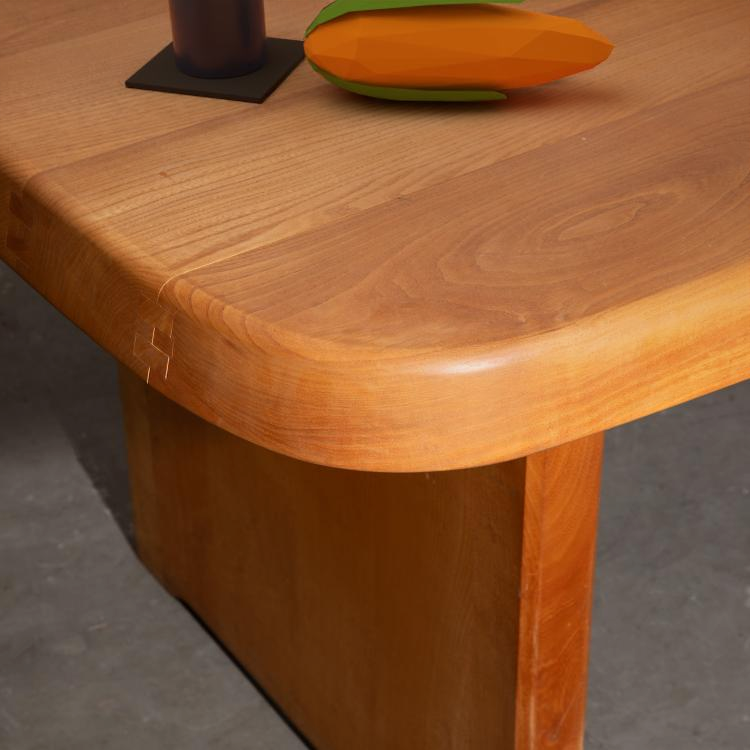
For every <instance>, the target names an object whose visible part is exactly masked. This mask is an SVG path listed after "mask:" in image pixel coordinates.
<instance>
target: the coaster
mask: <svg viewBox="0 0 750 750" xmlns="http://www.w3.org/2000/svg"><path fill="white" fill-rule="evenodd" d="M266 39H267V53H268V59H267V62H266V63H265V65H264V66H262V67H261V68H260V69H258V70H256V71H254V72H252V73H249V74H246V75H242V76H238V77H233V78H224V79H206V78H198V77H193V76H190V75H187V74H185V73H183V72H181V71H180V70H179V69H178V68H177V67H176V64H175V55H174V46H173V40H172V41H171V42H169V44H167V45H166V46H165V47H164V48H163V49H161V50H160V51H158V53H157V54H155V55H154V56H153V57H152V58H151V59H150V60H148V61H147V62H146V63H145V64H144V65H143V66H141V67H140V68H139V69H138V70H136V71H135V72H134V73H133V74H132V75H131V76H130V77H128V78H127V79H125V81H124V87H125V88H132V89H141V90H150V91H157V92H165V93H173V94H181V95H190V96H197V97H205V98H206V97H207V98H215V99H223V100H231V101H238V102H239V101H240V102H247V103H255V104H262V103H263V102H264V101H265V100H266V99H267V98H268V96H270V95H271V93H272V92H274V90H275V89H277V88H278V86H279V85H280V84H281V83H282V82H283V81H284V80H285V79H286V78H287V77H288V76H289V75H290V74H291V73H292V72H293V71H294V70H295V69H296V68H297V67H298V66H299V64H301V62H302V61H303V60H305V59H306V57H305V55H304V54H305V50H304V42H305V40H299V39H291V38H281V37H271V36H266Z"/></svg>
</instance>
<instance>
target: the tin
mask: <svg viewBox="0 0 750 750" xmlns="http://www.w3.org/2000/svg"><path fill="white" fill-rule="evenodd" d="M168 9H169V10H168V11H169V18H170V19H169V20H170V25H171V26H170V28H171V36H172V41H173V46H174V55H175V64H176V67H177V68H178V69H179V70H180V71H181V72H183V73H185V74H187V75H190V76H193V77H198V78H206V79H224V78H233V77H238V76H242V75H246V74H249V73H252V72H254V71H256V70H258V69H260V68H261V67H262V66H264V65H265V63H266V62H267V59H268V53H267V39H266V37H267V28H266V15H265V13H266V12H265V0H168Z"/></svg>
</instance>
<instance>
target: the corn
mask: <svg viewBox="0 0 750 750" xmlns="http://www.w3.org/2000/svg"><path fill="white" fill-rule="evenodd" d="M525 1H526V0H334V1H333V2H331V3H329V4H327V5H326V6H325V7H323V8H322V9H321V10H320V11H319V13H318V14H317V16H315V18H314V19H313V21H311V23H310V24H309V25H308V27H307V28H306V29H305V33H304V35H303V39H304V41H305V42H304V50H305V54H304V55H305V60H306V62H307V63H308V64H309V65H310V67H311V68H312V70H314V72H316V74H318V76H319V77H320V78H323V79H324V80H325V81H327V82H329V83H330V84H332V85H335V86H336V87H338V88H341V89H343V90H345V91H346V92H350V93H353V94H358V95H362V96H366V97H371V98H375V99H379V100H389V101H407V102H409V101H411V102H413V101H414V102H416V101H417V102H485V101H499V100H507V99H508V97H507V94H503V93H501V92H498V91H502V90H509V89H518V88H519V89H520V88H527V87H536V86H541V85H544V84H547V83H550V82H554V81H557V80H560V79H563V78H567V77H570V76H573V75H576V74H579V73H583V72H586V71H589V70H593V69H594V68H596V67H597V66H599V65H600V64H602V63H603V62H605V61H607V59H609V58H610V55H611V54H612V52H613V50H614V48H615V46H614V43H612V41H610V39H609V38H607V37H606V36H604V35H603V34H601V33H599V32H598V31H596V30H594V29H593V28H592V27H590V26H588V25H587V24H585V23H584V22H582V21H581V20H578V19H575V18H574V19H573V18H569V17H563V16H557V15H553V14H548V13H543V12H542V13H541V12H537V11H532V10H526V9H520V8H516V7H511V6H504V5H499V4H522V3H524V2H525Z"/></svg>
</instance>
